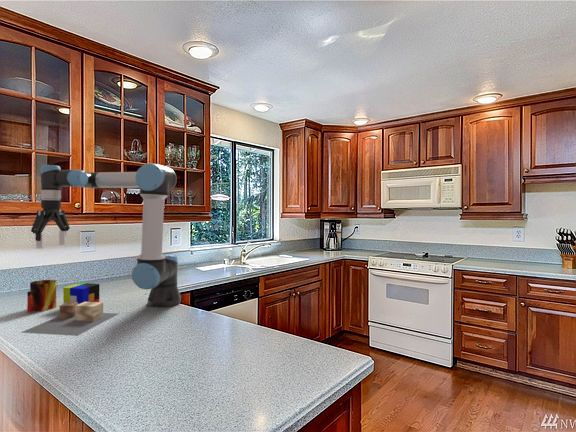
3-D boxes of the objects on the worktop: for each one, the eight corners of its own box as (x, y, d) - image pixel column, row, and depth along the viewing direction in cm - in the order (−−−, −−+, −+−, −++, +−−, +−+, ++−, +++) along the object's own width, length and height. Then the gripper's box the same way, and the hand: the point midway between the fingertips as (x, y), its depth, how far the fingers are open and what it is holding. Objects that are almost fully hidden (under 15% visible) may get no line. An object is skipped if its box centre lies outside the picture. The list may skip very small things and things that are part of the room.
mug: (27, 315, 151) (27, 287, 150) (31, 307, 163) (31, 280, 162) (54, 312, 155) (54, 285, 155) (57, 304, 167) (57, 279, 167)
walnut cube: (77, 313, 153) (77, 302, 153) (72, 317, 148) (72, 305, 148) (65, 314, 152) (65, 302, 152) (59, 317, 147) (59, 305, 147)
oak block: (103, 316, 150) (103, 302, 150) (93, 321, 144) (93, 306, 144) (85, 315, 151) (85, 301, 150) (75, 320, 145) (75, 305, 145)
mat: (119, 314, 154) (119, 313, 154) (77, 336, 129) (77, 335, 129) (71, 311, 157) (71, 311, 157) (20, 333, 131) (20, 332, 131)
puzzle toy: (83, 311, 158) (83, 288, 157) (63, 309, 160) (63, 287, 159) (99, 305, 168) (99, 284, 167) (80, 303, 170) (80, 282, 169)
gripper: (63, 200, 176) (63, 243, 177) (20, 199, 151) (21, 249, 152) (77, 200, 175) (78, 243, 176) (36, 199, 150) (37, 250, 151)
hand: (51, 246), depth 164 cm, fingers open, 13 cm apart
